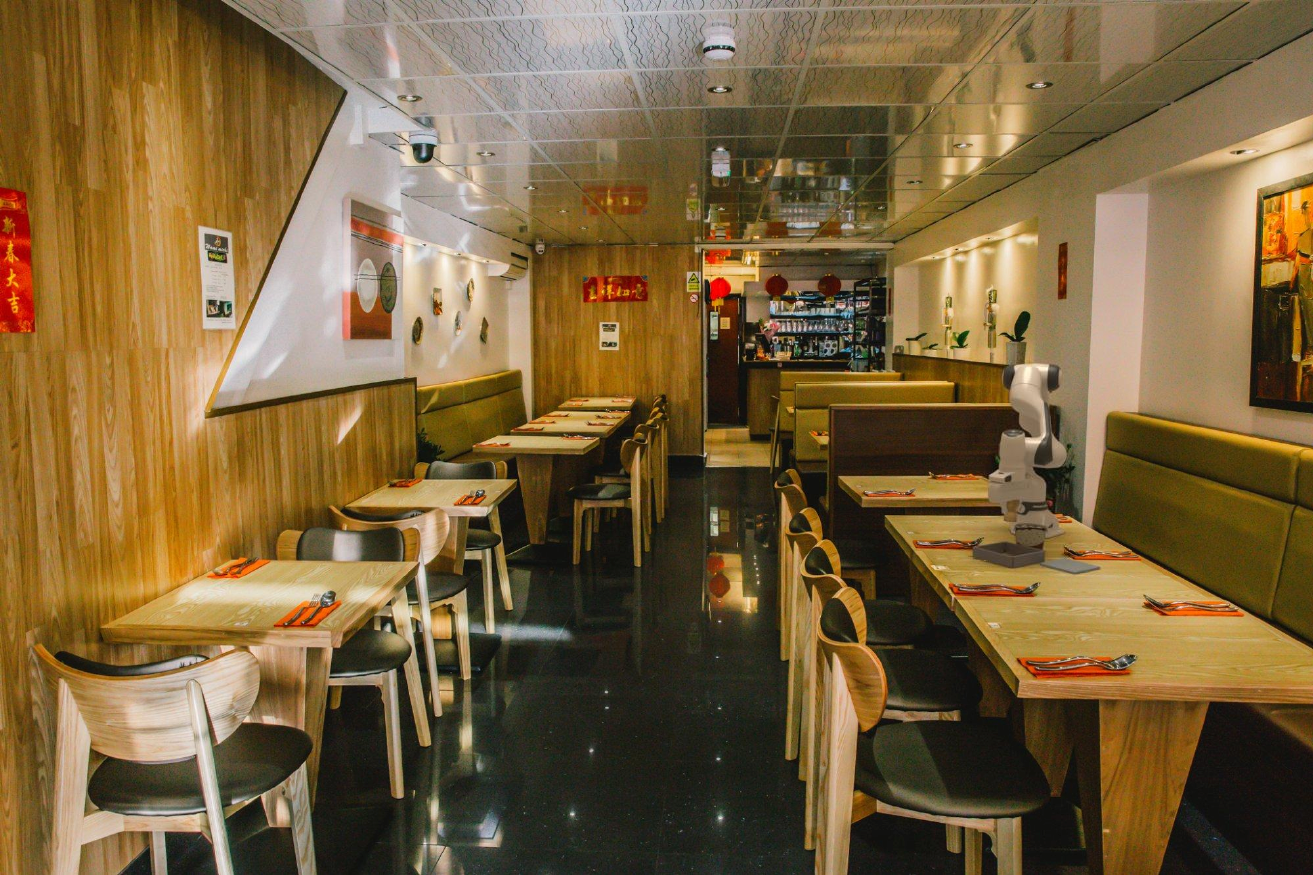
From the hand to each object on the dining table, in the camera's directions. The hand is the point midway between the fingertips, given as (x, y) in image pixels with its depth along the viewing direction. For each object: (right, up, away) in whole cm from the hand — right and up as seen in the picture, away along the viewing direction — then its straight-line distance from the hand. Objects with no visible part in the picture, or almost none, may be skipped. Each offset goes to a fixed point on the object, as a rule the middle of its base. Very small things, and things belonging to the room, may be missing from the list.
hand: (1010, 512), depth 322 cm
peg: (0, -3, 0) cm, 3 cm away
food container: (+13, -16, +16) cm, 26 cm away
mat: (+17, -19, -9) cm, 27 cm away
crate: (0, -18, +2) cm, 18 cm away
